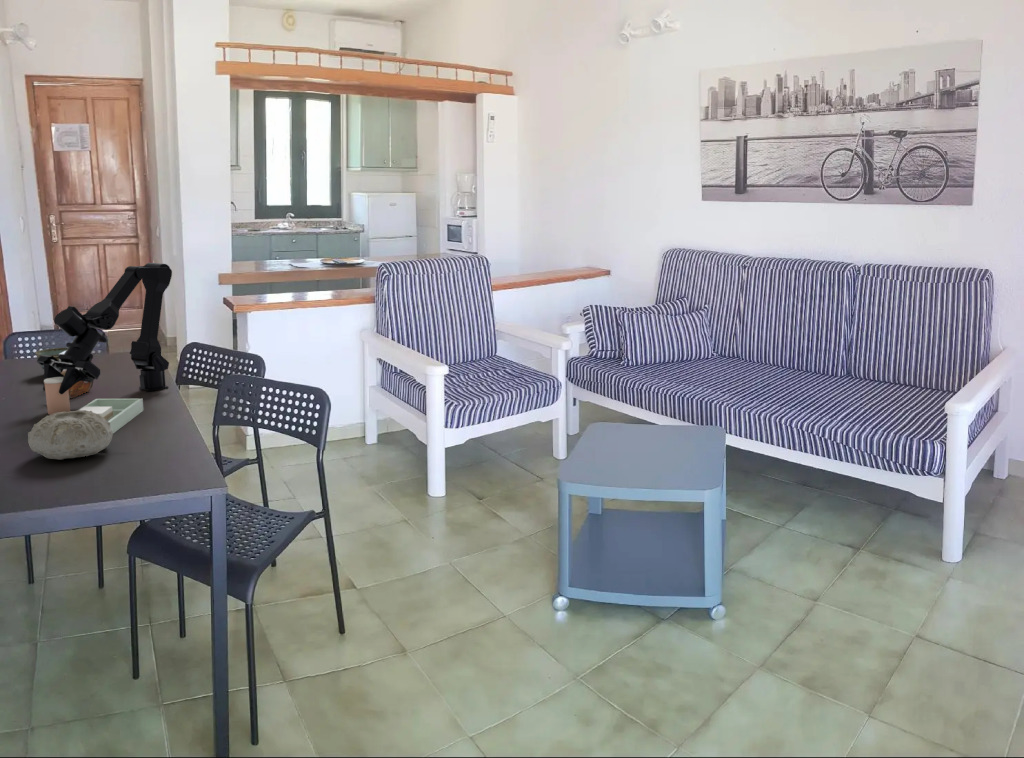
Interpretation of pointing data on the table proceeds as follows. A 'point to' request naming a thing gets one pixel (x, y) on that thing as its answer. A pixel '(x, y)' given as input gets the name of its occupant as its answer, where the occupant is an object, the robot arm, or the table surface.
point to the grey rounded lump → (70, 435)
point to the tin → (79, 387)
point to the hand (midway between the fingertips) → (52, 392)
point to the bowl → (51, 352)
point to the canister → (56, 396)
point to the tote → (119, 410)
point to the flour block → (101, 411)
